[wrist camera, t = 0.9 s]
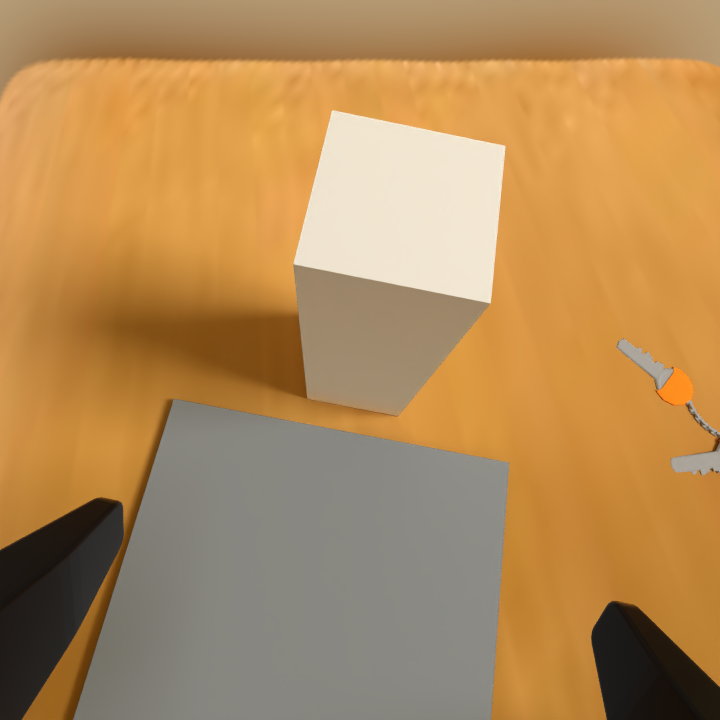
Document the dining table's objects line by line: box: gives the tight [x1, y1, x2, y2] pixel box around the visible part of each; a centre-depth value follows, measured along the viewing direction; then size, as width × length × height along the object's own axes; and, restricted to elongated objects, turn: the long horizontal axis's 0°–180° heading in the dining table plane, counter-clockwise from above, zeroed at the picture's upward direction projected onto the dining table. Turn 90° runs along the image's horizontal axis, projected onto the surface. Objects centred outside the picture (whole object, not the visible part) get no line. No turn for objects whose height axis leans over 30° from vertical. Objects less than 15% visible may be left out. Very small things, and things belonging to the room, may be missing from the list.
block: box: [293, 110, 505, 416], centre depth 17 cm, size 4×4×13 cm
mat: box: [73, 399, 509, 720], centre depth 20 cm, size 16×16×1 cm
